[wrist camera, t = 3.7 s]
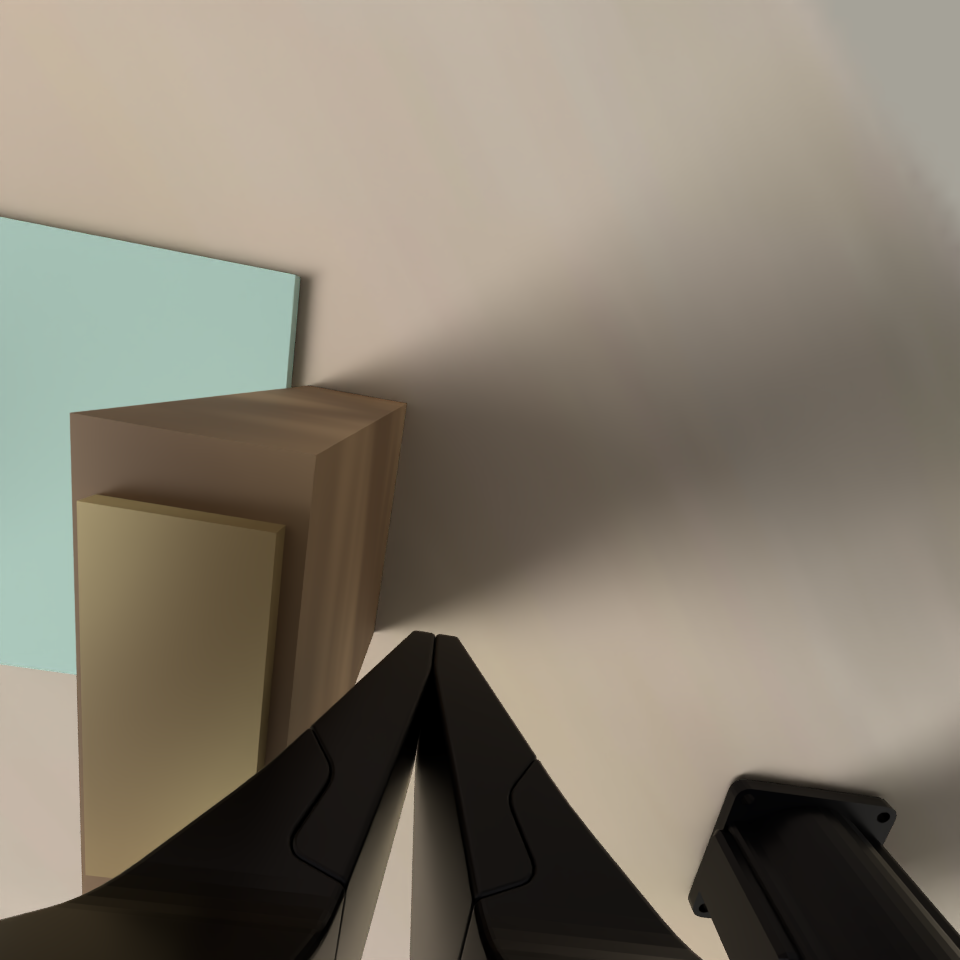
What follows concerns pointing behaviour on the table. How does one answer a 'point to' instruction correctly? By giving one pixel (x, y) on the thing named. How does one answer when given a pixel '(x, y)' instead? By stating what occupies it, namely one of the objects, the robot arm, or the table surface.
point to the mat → (106, 386)
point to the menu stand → (216, 594)
